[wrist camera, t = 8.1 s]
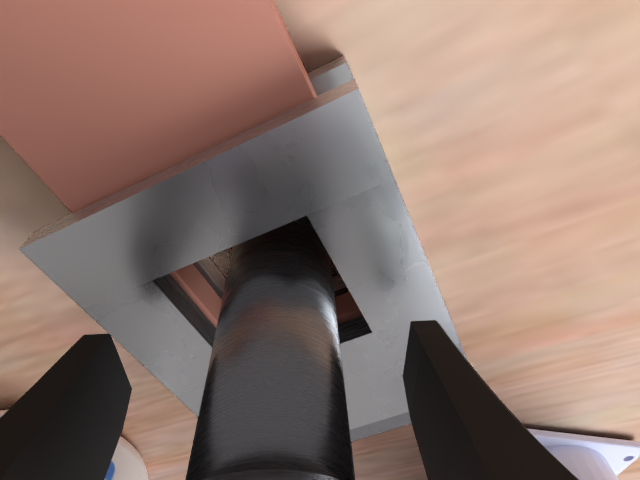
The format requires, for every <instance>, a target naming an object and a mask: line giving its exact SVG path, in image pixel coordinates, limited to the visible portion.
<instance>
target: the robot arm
mask: <svg viewBox="0 0 640 480" xmlns="http://www.w3.org/2000/svg"><path fill="white" fill-rule="evenodd" d="M403 381H404V387H405V393H406V399H407V404H408V410H409V415H410V419H411V423H412V426H413V430H414V433H415V436H416V440H417V443H418V447H419V450H420V454H421V457H422V460H423V464H424V467H425V470H426V474H427V477H428V480H619V479H618V478H617V475H618V474H619V473H620V472H622V471H623V470H624V469H625V468H626V467H628V466H629V465H630V464H631V463H632V462H633V461H635V460H636V459H637V458H638V457H639V456H640V443H639V442H637V441H630V440H621V439H613V438H604V437H596V436H587V435H578V434H570V433H561V432H553V431H544V430H536V429H527V428H526V427H525V426H524V425H523V424H522V423H521V422H520V421H519V420H518V419H517V418H516V417H515V416H514V415H513V414H512V413H511V411H510V410H509V409H508V408H507V407H506V406H505V405H504V404H503V403H502V401H501V400H500V399H499V398H498V397H497V396H496V394H495V393H494V392H493V391H492V390H491V389H490V387H489V386H488V385H487V384H486V383H485V382H484V380H483V379H482V378H481V377H480V376H479V374H478V373H477V372H476V371H475V370H474V368H473V367H472V366H471V365H470V363H469V362H468V361H467V359H466V358H465V357H464V356H463V354H462V353H461V352H460V351H459V349H458V348H457V347H456V345H455V344H454V343H453V341H452V340H451V339H450V337H449V336H448V335H447V333H446V332H445V331H444V329H443V328H442V327H441V325H440V324H439V323H438V322H437V321H436V320H427V321H411V323H410V329H409V336H408V343H407V350H406V357H405V364H404V371H403ZM131 391H132V388H131V385H130V383H129V380H128V378H127V375H126V373H125V370H124V368H123V365H122V363H121V360H120V358H119V355H118V353H117V350H116V348H115V345H114V343H113V340H112V337H111V335H110V334H94V335H84V336H83V337H81V338H80V339H79V340H78V341H77V342H76V343H75V344H74V345H73V346H72V347H71V348H70V349H69V350H68V351H67V352H66V353H65V354H64V355H63V356H62V357H61V358H60V359H59V360H58V361H57V362H56V363H55V364H54V365H53V366H52V367H51V368H50V369H49V370H48V371H47V372H46V373H45V374H44V375H43V376H42V377H41V378H40V379H39V380H38V381H37V382H36V383H35V384H34V385H33V386H32V387H31V388H30V389H29V390H28V391H27V392H26V393H25V394H24V395H23V396H22V397H21V398H20V399H19V400H18V401H17V402H16V403H15V404H14V405H13V406H12V407H11V408H10V409H9V410H8V411H7V412H6V413H5V414H4V415H3V416H2V417H0V480H104V479H105V476H106V474H107V471H108V468H109V466H110V463H111V460H112V457H113V455H114V452H115V449H116V446H117V444H118V441H119V438H120V435H121V432H122V429H123V425H124V421H125V417H126V413H127V409H128V404H129V400H130V395H131Z"/></svg>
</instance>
